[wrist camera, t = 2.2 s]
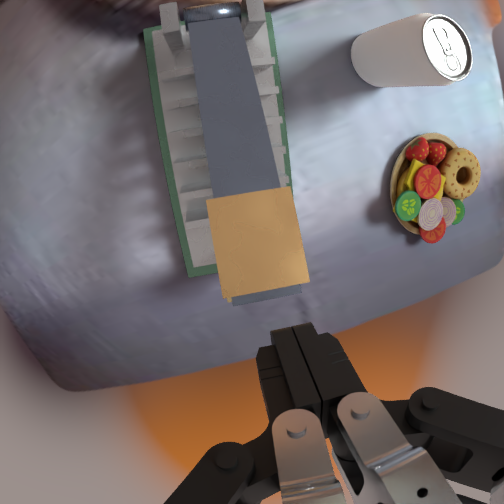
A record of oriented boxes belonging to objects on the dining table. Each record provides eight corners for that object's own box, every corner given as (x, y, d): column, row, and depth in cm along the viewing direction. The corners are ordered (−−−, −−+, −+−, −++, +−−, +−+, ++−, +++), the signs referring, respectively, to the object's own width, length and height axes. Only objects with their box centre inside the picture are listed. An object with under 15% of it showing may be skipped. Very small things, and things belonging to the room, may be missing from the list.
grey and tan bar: (182, 21, 19) (179, 3, 17) (239, 14, 19) (240, -4, 18) (225, 305, 18) (225, 308, 16) (302, 290, 18) (311, 291, 16)
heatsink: (144, 30, 23) (123, 1, 15) (269, 13, 24) (294, -19, 16) (188, 275, 34) (186, 325, 26) (296, 255, 35) (324, 298, 27)
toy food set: (473, 158, 34) (489, 163, 31) (439, 244, 39) (453, 254, 36) (406, 113, 31) (423, 115, 28) (368, 217, 35) (382, 227, 32)
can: (363, 95, 29) (436, 95, 18) (338, 40, 26) (405, 14, 15) (407, 79, 28) (484, 78, 18) (385, 27, 26) (458, 6, 15)
